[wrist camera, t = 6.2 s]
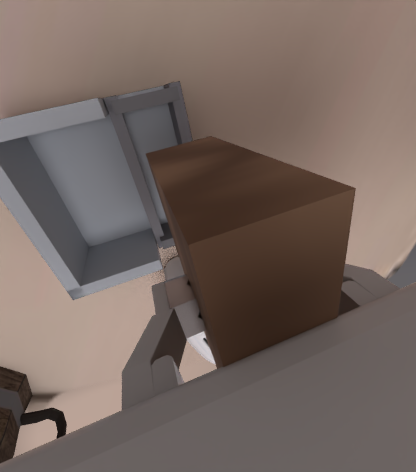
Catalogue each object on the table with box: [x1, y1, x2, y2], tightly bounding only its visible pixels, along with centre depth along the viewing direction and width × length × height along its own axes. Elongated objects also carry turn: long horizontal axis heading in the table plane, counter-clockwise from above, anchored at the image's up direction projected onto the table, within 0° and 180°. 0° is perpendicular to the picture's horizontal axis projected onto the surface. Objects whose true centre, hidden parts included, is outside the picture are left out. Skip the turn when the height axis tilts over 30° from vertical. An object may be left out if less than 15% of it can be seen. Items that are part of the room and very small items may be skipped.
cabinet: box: [0, 81, 192, 300], centre depth 23 cm, size 15×15×8 cm
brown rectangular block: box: [146, 136, 356, 369], centre depth 10 cm, size 3×10×8 cm, turn 11°
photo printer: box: [164, 256, 215, 364], centre depth 31 cm, size 10×4×12 cm, turn 27°
